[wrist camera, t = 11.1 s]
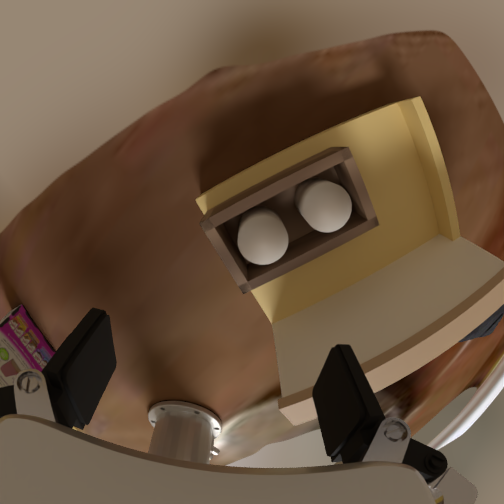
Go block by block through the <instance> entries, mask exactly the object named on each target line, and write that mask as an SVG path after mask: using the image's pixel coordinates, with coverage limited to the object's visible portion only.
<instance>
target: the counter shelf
mask: <svg viewBox="0 0 504 504" xmlns="http://www.w3.org/2000/svg"><path fill="white" fill-rule="evenodd" d="M330 147H349V149H350V151H351V153H352V155H353V158H354V160H355V162H356V165H357V167H358V169H359V172H360V174H361V177H362V179H363V181H364V184H365V186H366V189H367V192H368V194H369V197H370V199H371V202H372V205H373V208H374V210H375V213H376V216H377V219H378V222H379V226H377V227H375V228H373V229H371V230H369V231H367V232H366V233H364V234H362V235H360V236H358V237H356V238H354V239H352V240H350V241H349V242H347V243H345V244H343V245H341V246H339V247H337V248H335V249H333V250H331V251H329V252H327V253H326V254H324V255H322V256H320V257H318V258H316V259H314V260H312V261H310V262H308V263H306V264H304V265H302V266H300V267H298V268H296V269H294V270H292V271H290V272H288V273H286V274H284V275H282V276H280V277H278V278H276V279H274V280H272V281H270V282H268V283H265V284H263V285H261V286H259V287H257V288H255V289H253V290H251V292H252V293H253V295H254V296H255V298H256V300H257V301H258V303H259V304H260V306H261V307H262V309H263V311H264V312H265V314H266V315H267V317H268V318H269V320H270V322H271V323H272V327H273V334H274V341H275V348H276V355H277V363H278V370H279V377H280V385H281V392H282V398H280V399H278V406H279V410H280V411H281V412H282V413H283V414H284V415H285V416H286V418H287V419H288V420H289V421H290V422H291V423H292V424H293V425H294V426H296V425H299V424H302V423H304V422H307V421H310V420H313V419H315V418H318V417H317V413H316V409H315V405H314V401H313V397H312V390H313V387H314V385H315V383H316V381H317V379H318V377H319V375H320V372H321V370H322V368H323V366H324V363H325V361H326V359H327V357H328V354H329V352H330V350H331V348H332V347H335V345H336V344H349V345H350V346H351V347H352V349H353V351H354V353H355V355H356V357H357V360H358V362H359V364H360V366H361V368H362V370H363V372H364V374H365V376H366V378H367V380H368V382H369V384H370V386H371V388H372V390H373V392H374V393H375V392H377V391H379V390H381V389H383V388H385V387H387V386H389V385H391V384H392V383H394V382H396V381H398V380H400V379H402V378H403V377H405V376H407V375H408V374H410V373H412V372H414V371H415V370H417V369H418V368H420V367H422V366H423V365H425V364H426V363H428V362H430V361H431V360H433V359H434V358H436V357H437V356H439V355H440V354H442V353H443V352H445V351H446V350H447V349H449V348H450V347H452V346H453V345H454V344H456V343H457V342H459V341H460V340H461V339H463V338H464V337H465V336H466V335H468V334H469V333H470V332H472V331H473V330H474V329H475V328H477V327H478V326H479V325H480V324H481V323H483V322H484V321H485V320H486V319H487V318H489V317H490V316H491V315H492V314H493V313H494V312H495V311H496V310H498V309H499V308H500V307H501V306H502V305H503V304H504V262H503V261H502V260H500V259H499V258H497V257H495V256H494V255H492V254H490V253H489V252H487V251H485V250H484V249H482V248H480V247H479V246H477V245H475V244H473V243H472V242H470V241H468V240H466V239H464V238H463V237H461V236H460V231H459V224H458V219H457V213H456V208H455V203H454V198H453V194H452V189H451V185H450V181H449V177H448V173H447V170H446V166H445V163H444V159H443V156H442V153H441V149H440V146H439V143H438V140H437V137H436V134H435V132H434V129H433V126H432V123H431V121H430V118H429V116H428V113H427V111H426V108H425V106H424V104H423V101H422V99H421V97H420V96H419V97H414V98H410V99H405V100H401V101H397V102H393V103H390V104H387V105H384V106H382V107H379V108H377V109H374V110H372V111H369V112H367V113H364V114H362V115H359V116H357V117H354V118H352V119H350V120H347V121H345V122H343V123H340V124H338V125H336V126H333V127H331V128H329V129H327V130H324V131H322V132H320V133H318V134H316V135H313V136H311V137H309V138H307V139H305V140H303V141H301V142H299V143H296V144H294V145H292V146H290V147H288V148H286V149H284V150H282V151H280V152H278V153H276V154H274V155H272V156H270V157H268V158H266V159H264V160H262V161H260V162H259V163H257V164H255V165H253V166H251V167H249V168H247V169H245V170H243V171H242V172H240V173H238V174H236V175H234V176H232V177H231V178H229V179H227V180H225V181H223V182H222V183H220V184H218V185H216V186H215V187H213V188H211V189H209V190H208V191H206V192H204V193H202V194H201V195H200V196H199V197H198V198H197V199H196V202H197V204H198V205H199V207H200V209H201V210H202V212H203V214H204V215H205V213H206V212H207V211H208V210H209V209H211V208H213V207H215V206H217V205H218V204H220V203H222V202H224V201H226V200H227V199H229V198H231V197H233V196H235V195H237V194H238V193H240V192H242V191H244V190H246V189H248V188H250V187H251V186H253V185H255V184H257V183H259V182H261V181H263V180H265V179H267V178H269V177H271V176H273V175H275V174H276V173H278V172H280V171H282V170H284V169H286V168H288V167H290V166H292V165H294V164H296V163H299V162H301V161H303V160H305V159H307V158H309V157H311V156H313V155H315V154H317V153H319V152H321V151H323V150H326V149H328V148H330Z"/></svg>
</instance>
